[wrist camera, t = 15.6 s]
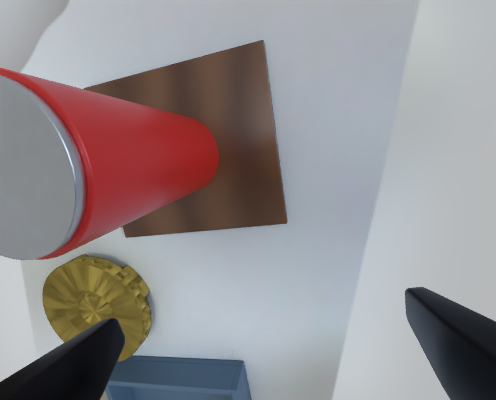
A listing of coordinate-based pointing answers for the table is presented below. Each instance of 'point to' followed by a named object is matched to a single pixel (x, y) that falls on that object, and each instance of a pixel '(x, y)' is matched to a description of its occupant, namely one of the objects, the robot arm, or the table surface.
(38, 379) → the robot arm
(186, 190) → the can
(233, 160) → the walnut board
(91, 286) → the gold round disc
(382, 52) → the table surface
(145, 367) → the tray
